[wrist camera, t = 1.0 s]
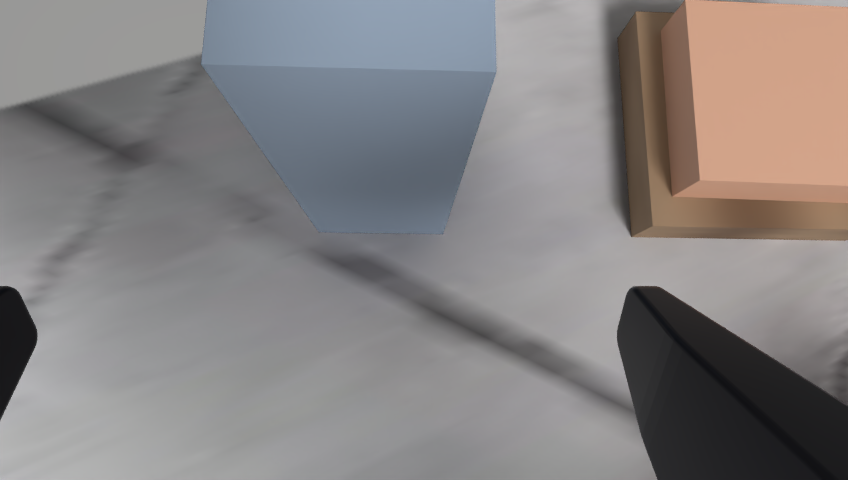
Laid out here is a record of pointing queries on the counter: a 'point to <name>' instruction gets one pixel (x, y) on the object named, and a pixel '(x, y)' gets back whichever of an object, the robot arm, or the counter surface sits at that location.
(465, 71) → the slate blue block
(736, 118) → the terracotta block
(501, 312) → the counter surface
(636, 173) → the walnut block
